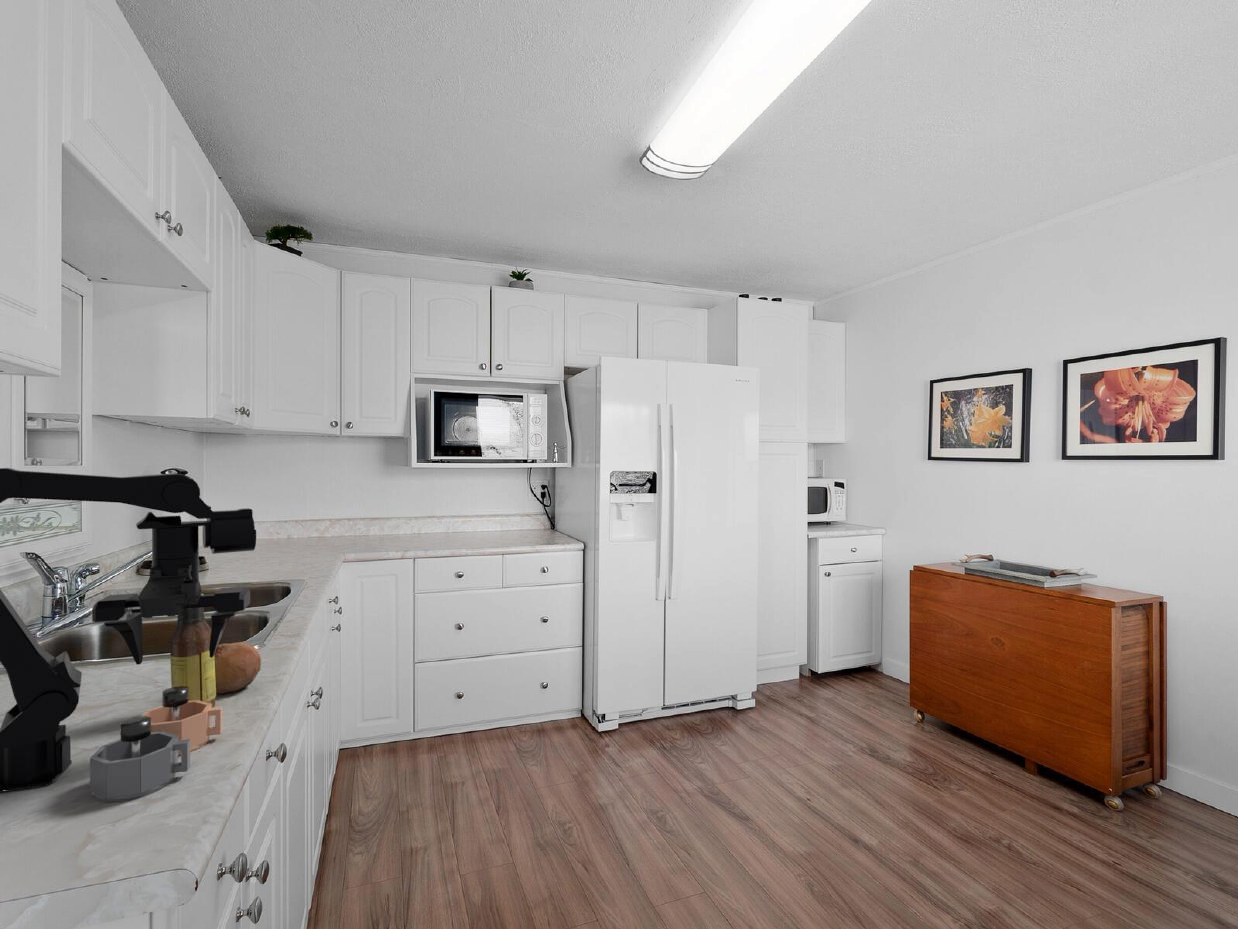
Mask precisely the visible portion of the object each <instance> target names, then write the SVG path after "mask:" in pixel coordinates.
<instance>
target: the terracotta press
mask: <svg viewBox="0 0 1238 929" xmlns="http://www.w3.org/2000/svg"><path fill="white" fill-rule="evenodd" d="M223 707H224V706H223V705H220V706H216V707H215V706H214V707H213V708H212V704H211V703H207V702H203V701H199V700H194V701H188V702H187V703H186V704H184V705H181V706H179V720H178V721H172V707H163V706H162V705H160V706H158V707H155V708H152V709H149V710H146V711H144V712H143V713H142V714H141V716H140V717H150V718H151V733H153V732H161V731H163V732H167V733H170V734H173V735H177V736H178V741H180V740H186V739H190V753H191V752H194V751H196V750H198V749H200V748H202V747H204V746H205V745H206V744H207V743H208V742H210V738H211V737H210V736H218V735H222V733H223V728H224V727H223V715H224V714H223V710H224V709H223ZM213 716H214V726H213V724H212V723H213ZM179 756H181V750H178V757H179Z"/></svg>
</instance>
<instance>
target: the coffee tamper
mask: <svg viewBox="0 0 1238 929" xmlns="http://www.w3.org/2000/svg"><path fill="white" fill-rule="evenodd" d="M150 735H151V718H150V717H141V716H138V717H132V718H128V719H126V720H124V721H122V722H121V723H120V739H121V741H122V742H132V758H137V757H140V740H141V739H144V738H146V737H148V736H150Z"/></svg>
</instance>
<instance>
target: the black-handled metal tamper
mask: <svg viewBox="0 0 1238 929" xmlns="http://www.w3.org/2000/svg"><path fill="white" fill-rule="evenodd" d="M161 699H162V701H161V702H162V703H161V704H162V705H161V706H163V707H172V721H178V720H179V706H181V705H184V704H186V703H187V702H188V701H189V688H188V687H187V686H177V687H172V686H171V687H169V688H166V689H164V690H162V698H161Z"/></svg>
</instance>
